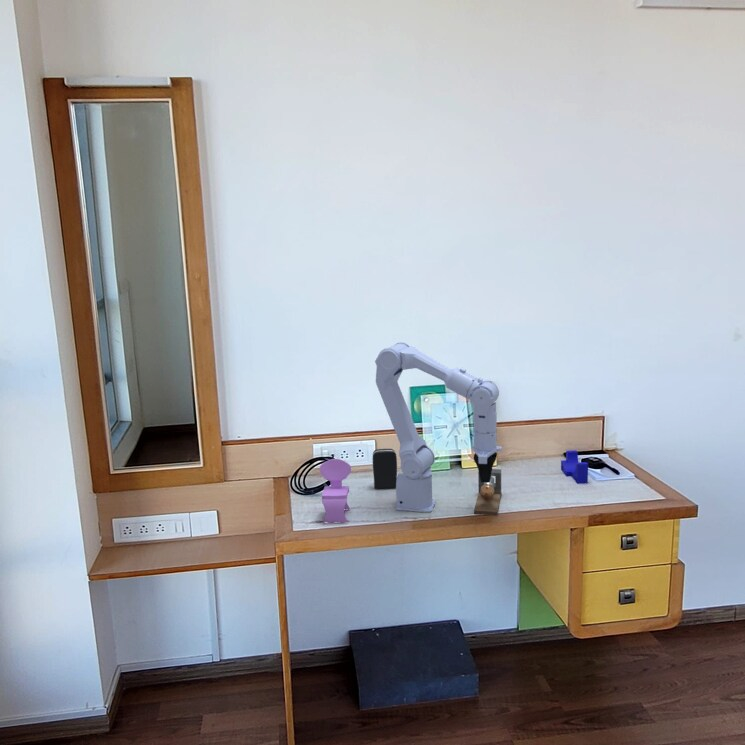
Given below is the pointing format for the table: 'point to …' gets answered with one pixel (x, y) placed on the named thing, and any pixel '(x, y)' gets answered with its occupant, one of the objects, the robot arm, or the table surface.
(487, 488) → the light bulb
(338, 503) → the toy chair
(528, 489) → the table surface
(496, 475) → the housing
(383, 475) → the battery
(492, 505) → the board
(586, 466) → the blue stepped block
